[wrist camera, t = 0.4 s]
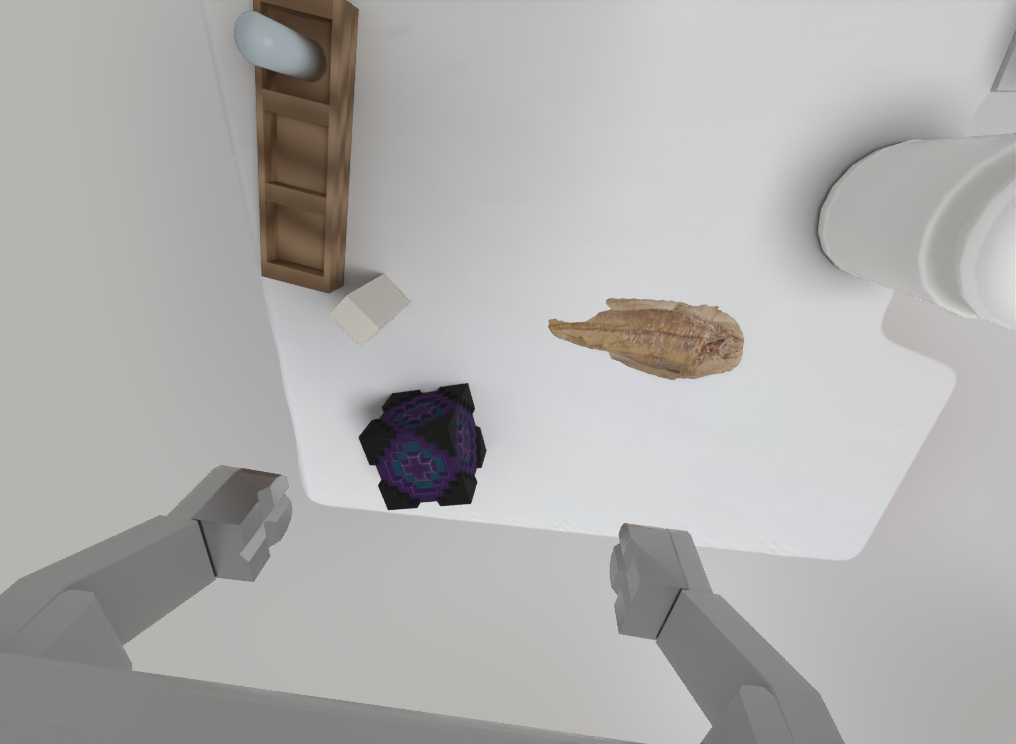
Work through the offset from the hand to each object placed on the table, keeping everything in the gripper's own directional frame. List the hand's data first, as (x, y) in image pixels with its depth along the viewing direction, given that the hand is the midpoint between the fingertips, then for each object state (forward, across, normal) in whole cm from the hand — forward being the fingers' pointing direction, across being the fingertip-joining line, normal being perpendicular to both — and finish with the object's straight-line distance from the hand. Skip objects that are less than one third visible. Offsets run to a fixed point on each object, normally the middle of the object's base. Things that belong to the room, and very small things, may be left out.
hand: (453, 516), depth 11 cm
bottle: (+46, -39, -6) cm, 61 cm away
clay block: (+48, +17, +13) cm, 53 cm away
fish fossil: (+47, -18, +12) cm, 52 cm away
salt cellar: (+48, +25, -12) cm, 56 cm away
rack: (+50, +26, -3) cm, 56 cm away
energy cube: (+47, +8, +32) cm, 58 cm away
